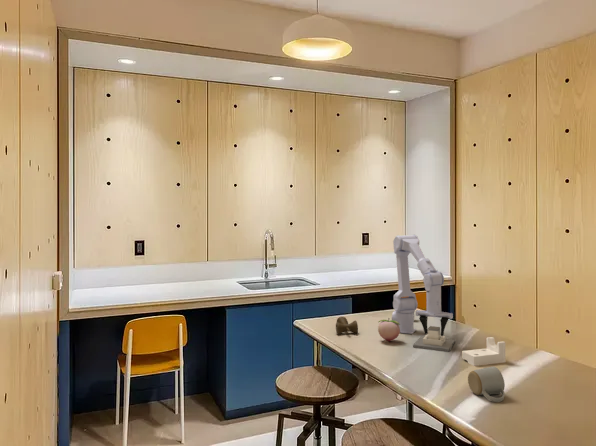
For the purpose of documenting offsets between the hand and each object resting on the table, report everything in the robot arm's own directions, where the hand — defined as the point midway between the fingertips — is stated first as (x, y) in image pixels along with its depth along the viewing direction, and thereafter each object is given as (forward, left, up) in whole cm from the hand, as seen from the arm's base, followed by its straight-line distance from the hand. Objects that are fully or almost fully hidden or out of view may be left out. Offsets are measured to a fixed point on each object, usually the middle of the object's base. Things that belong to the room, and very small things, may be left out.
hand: (434, 334), depth 189 cm
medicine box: (-21, +36, -4) cm, 42 cm away
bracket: (+20, -13, -5) cm, 25 cm away
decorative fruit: (-18, -3, -4) cm, 19 cm away
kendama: (-41, +5, -5) cm, 42 cm away
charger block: (0, 0, -3) cm, 3 cm away
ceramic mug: (+25, -45, -4) cm, 52 cm away
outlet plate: (0, 0, -4) cm, 4 cm away
